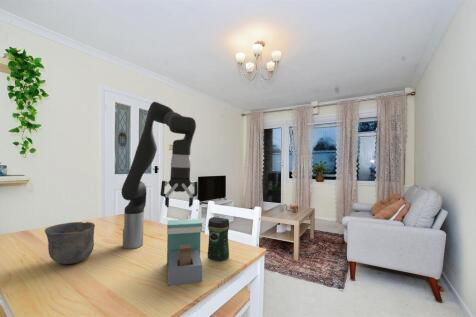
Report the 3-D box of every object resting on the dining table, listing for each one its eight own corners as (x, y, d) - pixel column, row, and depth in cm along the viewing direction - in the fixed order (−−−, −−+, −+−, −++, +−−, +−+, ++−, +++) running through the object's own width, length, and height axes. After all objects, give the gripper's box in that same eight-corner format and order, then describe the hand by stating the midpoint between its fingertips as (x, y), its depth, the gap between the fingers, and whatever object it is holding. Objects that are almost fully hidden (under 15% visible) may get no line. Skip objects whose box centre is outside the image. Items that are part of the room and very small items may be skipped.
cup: (36, 275, 87) (38, 235, 87) (49, 257, 102) (50, 224, 103) (92, 266, 95) (93, 229, 95) (96, 251, 111) (96, 220, 111)
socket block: (168, 285, 81) (168, 268, 81) (169, 265, 97) (169, 251, 97) (201, 281, 84) (202, 265, 84) (197, 262, 100) (198, 248, 100)
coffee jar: (231, 257, 106) (232, 217, 106) (222, 264, 99) (223, 221, 99) (214, 253, 110) (215, 214, 111) (204, 259, 104) (205, 218, 104)
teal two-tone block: (166, 271, 92) (167, 225, 92) (167, 263, 99) (167, 220, 99) (201, 267, 95) (202, 223, 95) (199, 260, 102) (200, 218, 103)
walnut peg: (179, 276, 88) (179, 244, 88) (189, 274, 89) (190, 244, 89) (179, 281, 84) (180, 248, 84) (190, 280, 85) (191, 247, 85)
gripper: (198, 166, 96) (196, 204, 96) (162, 165, 93) (160, 204, 93) (199, 167, 89) (197, 208, 89) (161, 165, 86) (159, 209, 86)
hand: (178, 206), depth 91 cm, fingers open, 8 cm apart
